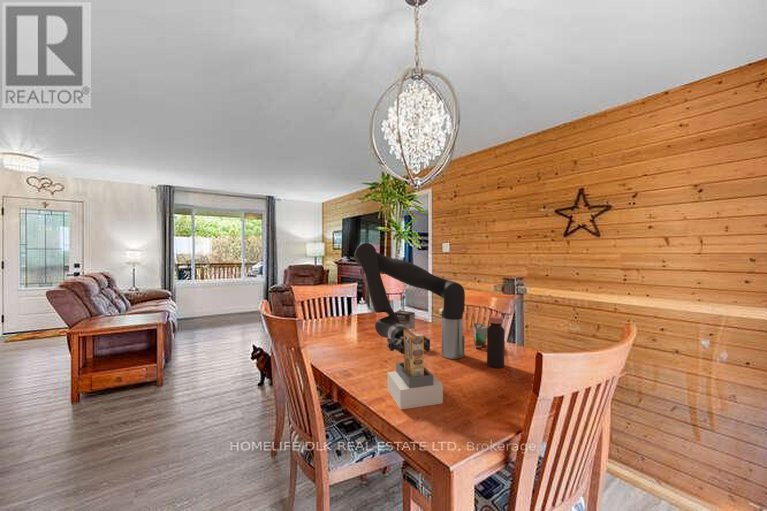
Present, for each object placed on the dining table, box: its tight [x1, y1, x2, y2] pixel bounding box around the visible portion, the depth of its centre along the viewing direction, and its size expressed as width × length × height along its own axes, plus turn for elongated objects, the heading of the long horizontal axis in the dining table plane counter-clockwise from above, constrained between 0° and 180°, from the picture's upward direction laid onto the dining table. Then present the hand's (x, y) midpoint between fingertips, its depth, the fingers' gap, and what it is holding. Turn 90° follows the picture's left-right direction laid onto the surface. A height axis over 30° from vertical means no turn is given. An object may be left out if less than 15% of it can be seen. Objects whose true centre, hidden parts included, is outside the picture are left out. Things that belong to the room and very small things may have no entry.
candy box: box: [403, 328, 425, 377], centre depth 105 cm, size 9×4×15 cm, turn 15°
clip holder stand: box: [387, 361, 444, 411], centre depth 105 cm, size 14×14×9 cm
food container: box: [473, 322, 488, 350], centre depth 156 cm, size 12×6×10 cm, turn 168°
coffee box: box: [394, 310, 416, 329], centre depth 160 cm, size 9×6×16 cm
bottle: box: [486, 315, 506, 369], centre depth 132 cm, size 7×7×20 cm
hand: (415, 349), depth 103 cm, fingers open, 8 cm apart
